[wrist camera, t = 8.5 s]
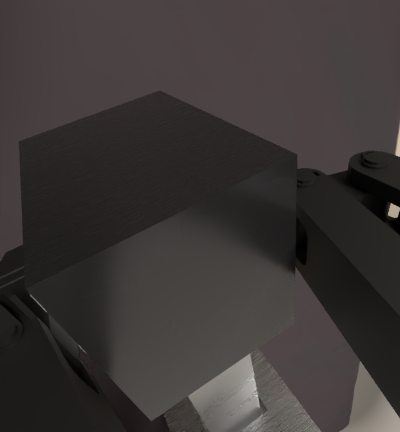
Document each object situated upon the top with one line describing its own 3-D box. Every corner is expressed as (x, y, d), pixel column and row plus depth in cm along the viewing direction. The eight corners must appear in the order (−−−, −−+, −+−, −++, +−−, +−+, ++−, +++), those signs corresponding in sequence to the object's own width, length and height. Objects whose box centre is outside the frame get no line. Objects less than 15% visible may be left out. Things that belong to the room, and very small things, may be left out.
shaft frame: (180, 419, 39) (239, 559, 29) (33, 220, 17) (63, 535, 6) (241, 376, 42) (315, 491, 32) (185, 154, 19) (379, 302, 9)
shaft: (199, 424, 28) (241, 516, 23) (18, 141, 9) (25, 289, 4) (242, 393, 29) (291, 473, 24) (159, 90, 11) (297, 154, 5)
